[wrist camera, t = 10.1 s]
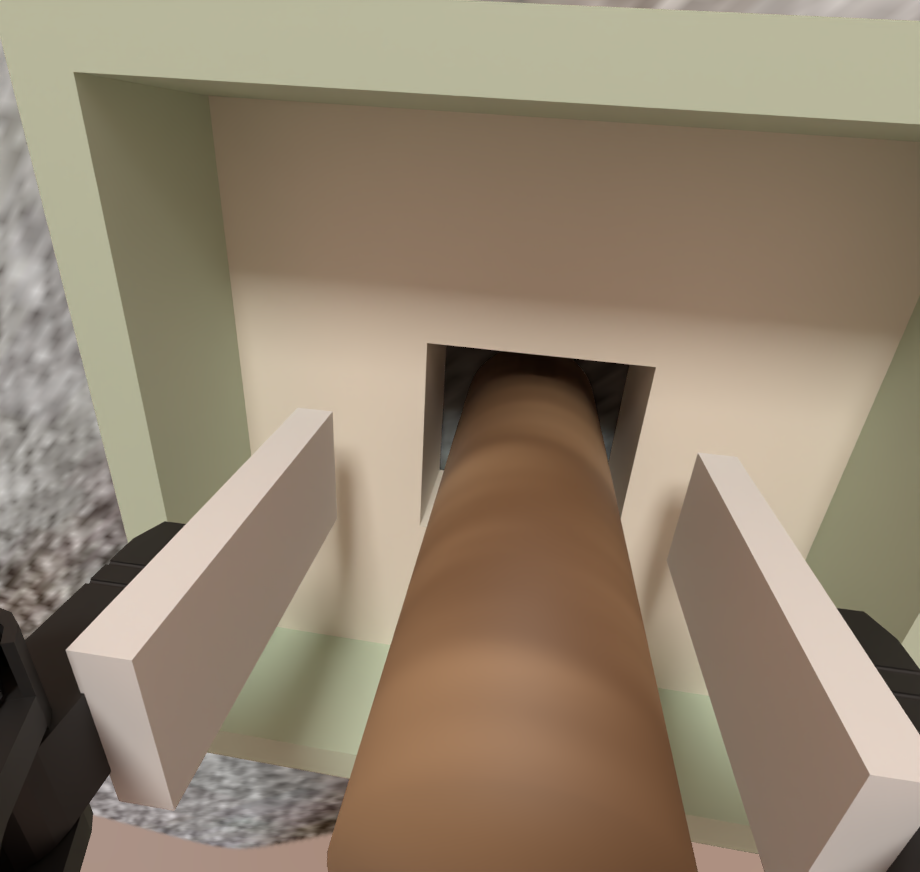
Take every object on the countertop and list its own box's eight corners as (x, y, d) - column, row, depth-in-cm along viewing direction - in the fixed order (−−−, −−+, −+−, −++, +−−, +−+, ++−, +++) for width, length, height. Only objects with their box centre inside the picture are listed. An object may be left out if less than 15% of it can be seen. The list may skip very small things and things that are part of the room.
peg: (463, 453, 17) (334, 950, 6) (471, 338, 15) (317, 749, 5) (582, 467, 17) (656, 1013, 6) (604, 352, 15) (755, 822, 4)
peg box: (283, 580, 20) (179, 747, 15) (230, 56, 13) (-15, -22, 7) (738, 649, 19) (822, 866, 13) (960, 98, 12) (1360, 41, 6)
